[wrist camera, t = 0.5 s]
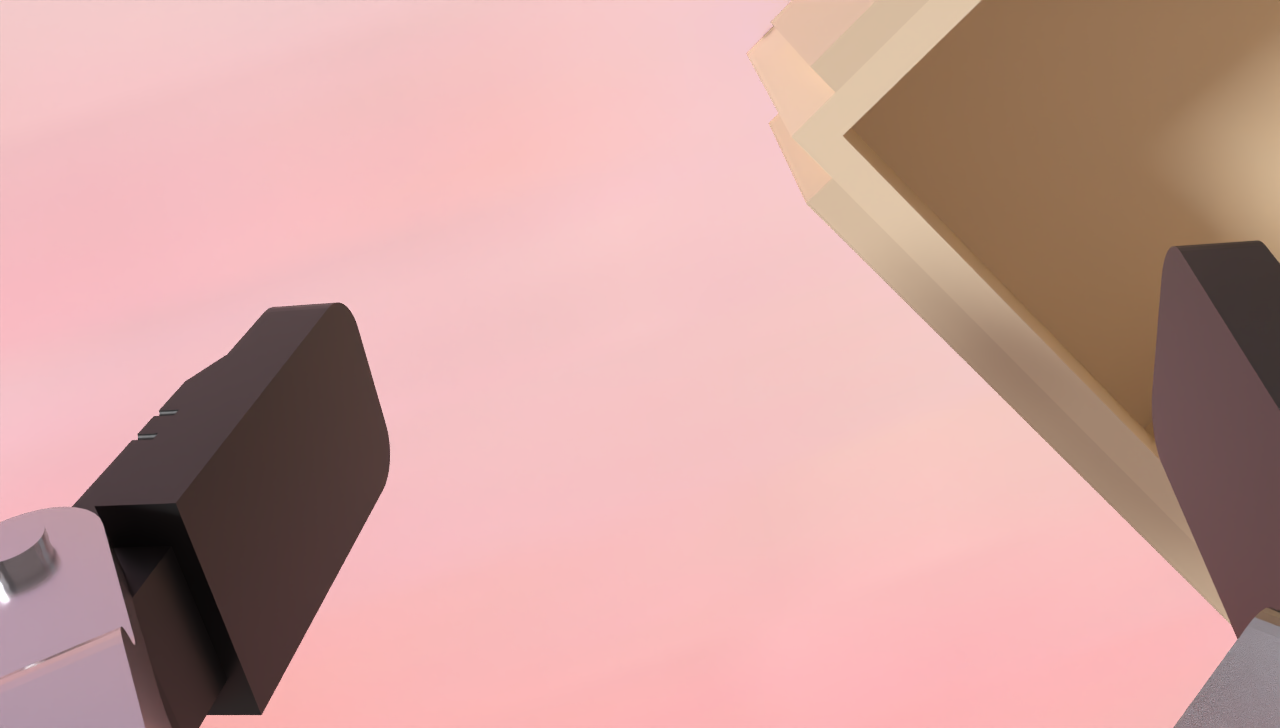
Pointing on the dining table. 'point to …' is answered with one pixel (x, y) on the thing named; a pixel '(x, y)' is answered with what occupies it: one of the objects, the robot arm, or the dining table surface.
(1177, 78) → the carton
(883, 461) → the dining table surface
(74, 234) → the dining table surface
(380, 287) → the dining table surface
